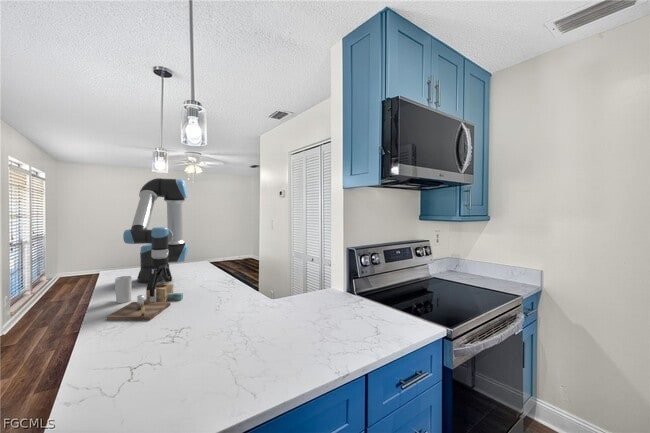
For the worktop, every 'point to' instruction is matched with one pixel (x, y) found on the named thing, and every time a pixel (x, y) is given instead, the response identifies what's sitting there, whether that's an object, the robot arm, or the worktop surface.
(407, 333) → the worktop surface
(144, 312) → the dowel
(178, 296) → the hollow wooden frame
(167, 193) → the robot arm
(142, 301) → the post
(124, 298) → the mug
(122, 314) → the base board
